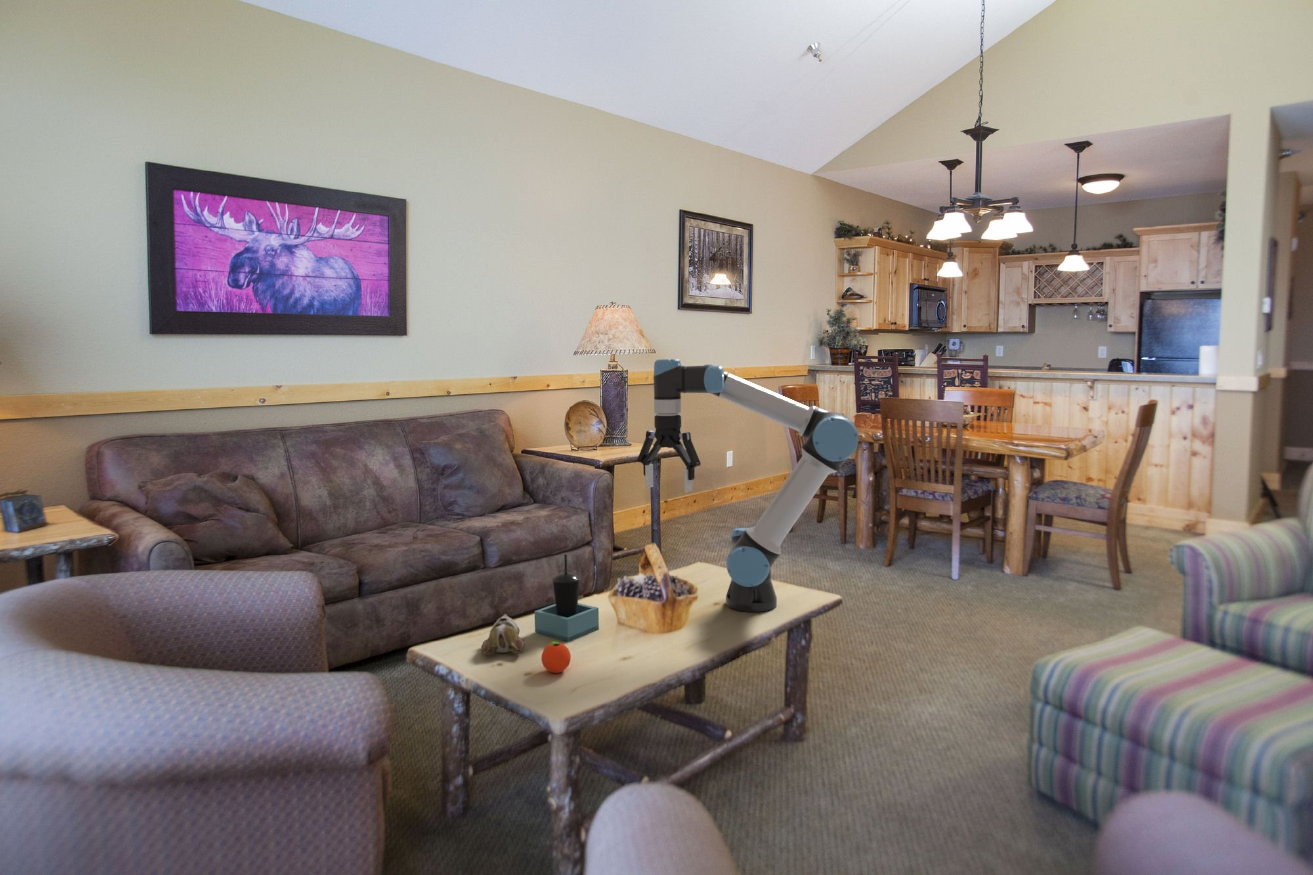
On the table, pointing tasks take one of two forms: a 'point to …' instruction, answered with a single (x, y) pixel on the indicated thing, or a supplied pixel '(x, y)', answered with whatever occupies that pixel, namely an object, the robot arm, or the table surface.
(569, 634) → the teal bin
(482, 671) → the table surface
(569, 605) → the drinking cup
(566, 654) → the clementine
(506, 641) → the ceramic sculpture
